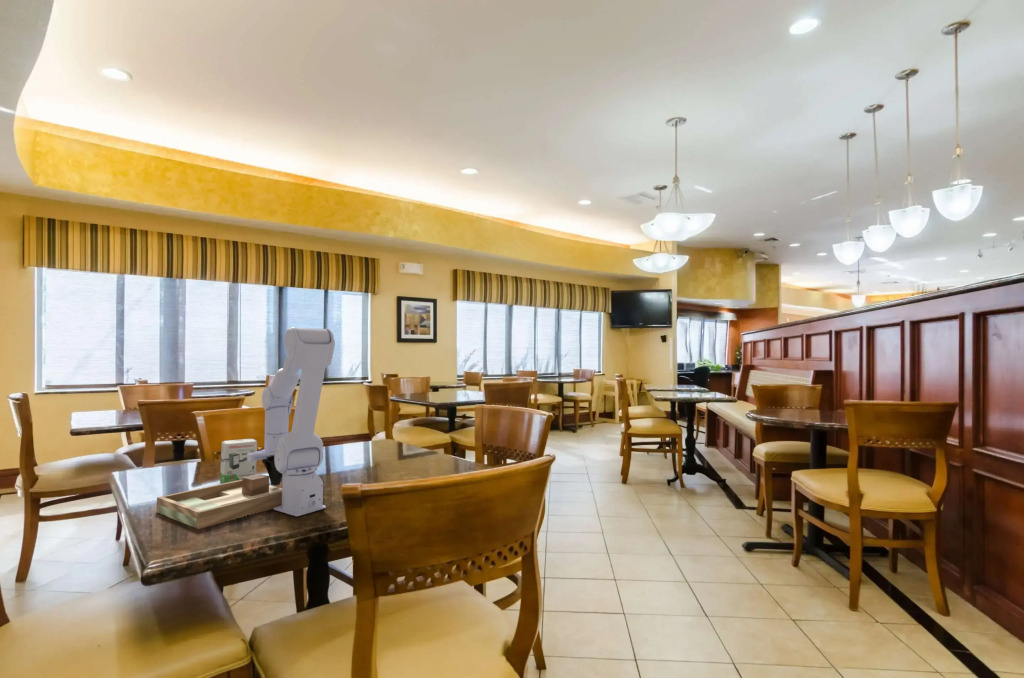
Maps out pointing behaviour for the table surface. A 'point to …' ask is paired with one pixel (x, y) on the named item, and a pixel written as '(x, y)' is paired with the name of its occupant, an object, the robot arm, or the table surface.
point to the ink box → (237, 460)
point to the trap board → (216, 504)
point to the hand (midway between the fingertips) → (275, 484)
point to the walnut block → (255, 484)
